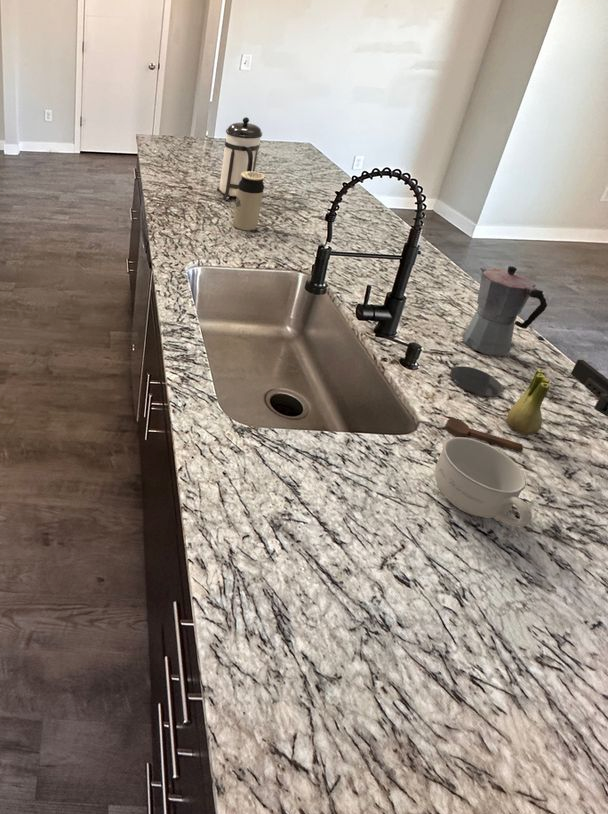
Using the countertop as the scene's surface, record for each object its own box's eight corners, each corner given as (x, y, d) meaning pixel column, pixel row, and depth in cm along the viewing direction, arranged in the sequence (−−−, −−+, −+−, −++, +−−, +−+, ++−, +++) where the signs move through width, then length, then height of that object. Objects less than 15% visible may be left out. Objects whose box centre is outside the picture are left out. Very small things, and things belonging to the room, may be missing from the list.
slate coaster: (497, 376, 113) (498, 374, 113) (504, 403, 105) (505, 401, 105) (448, 363, 116) (449, 361, 116) (452, 388, 109) (452, 386, 109)
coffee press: (205, 194, 205) (215, 116, 192) (229, 185, 215) (240, 110, 202) (244, 208, 193) (257, 126, 180) (267, 198, 203) (282, 119, 190)
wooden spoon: (518, 443, 96) (521, 438, 96) (522, 457, 93) (525, 452, 93) (444, 420, 101) (446, 415, 100) (446, 433, 98) (448, 428, 97)
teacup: (415, 468, 90) (430, 433, 87) (480, 471, 90) (497, 436, 87) (464, 547, 78) (483, 509, 74) (539, 551, 78) (562, 513, 74)
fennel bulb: (512, 414, 103) (536, 364, 98) (542, 430, 99) (568, 379, 94) (498, 425, 100) (522, 375, 95) (528, 443, 96) (555, 391, 91)
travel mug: (255, 222, 182) (264, 172, 175) (257, 232, 175) (267, 180, 167) (231, 220, 183) (239, 170, 176) (233, 229, 176) (241, 177, 169)
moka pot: (471, 324, 130) (500, 251, 122) (535, 363, 117) (573, 285, 109) (441, 330, 127) (469, 256, 119) (504, 371, 114) (540, 291, 106)
